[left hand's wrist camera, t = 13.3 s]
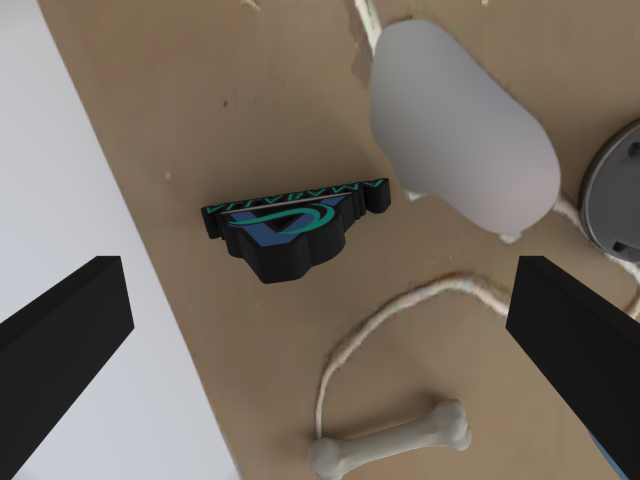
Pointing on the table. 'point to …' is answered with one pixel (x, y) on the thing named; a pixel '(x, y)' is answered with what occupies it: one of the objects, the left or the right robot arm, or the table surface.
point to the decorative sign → (293, 226)
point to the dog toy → (391, 441)
